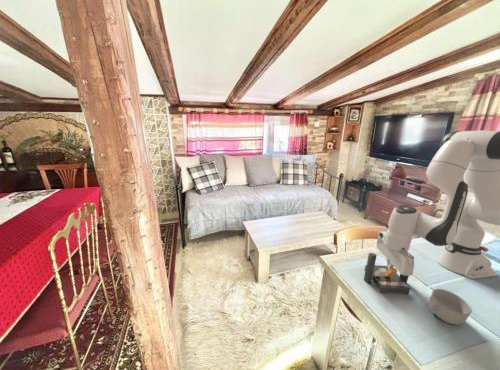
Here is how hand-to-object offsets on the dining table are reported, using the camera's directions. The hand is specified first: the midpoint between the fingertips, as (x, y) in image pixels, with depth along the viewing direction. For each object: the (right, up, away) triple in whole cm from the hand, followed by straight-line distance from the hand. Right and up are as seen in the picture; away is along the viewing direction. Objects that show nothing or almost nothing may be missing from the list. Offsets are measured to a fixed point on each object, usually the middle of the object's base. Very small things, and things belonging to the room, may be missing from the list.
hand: (389, 268), depth 90 cm
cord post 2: (+8, -8, +4) cm, 12 cm away
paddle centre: (0, -5, +3) cm, 5 cm away
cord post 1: (-8, -7, +4) cm, 11 cm away
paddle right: (-4, -4, +3) cm, 7 cm away
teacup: (+11, -13, -13) cm, 21 cm away
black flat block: (0, -7, +4) cm, 8 cm away
